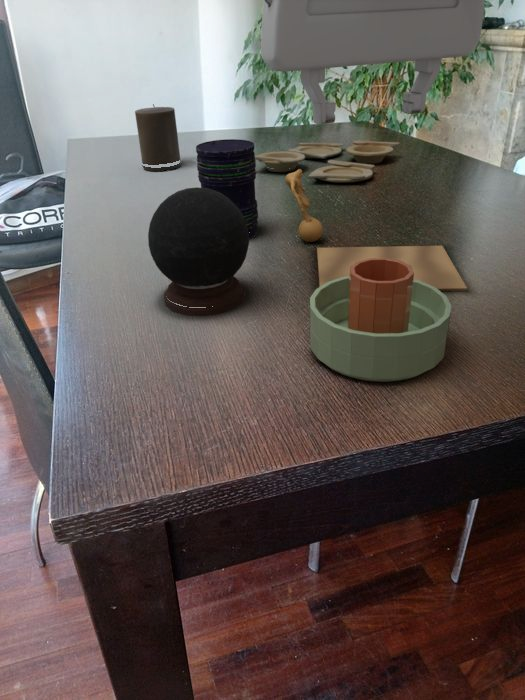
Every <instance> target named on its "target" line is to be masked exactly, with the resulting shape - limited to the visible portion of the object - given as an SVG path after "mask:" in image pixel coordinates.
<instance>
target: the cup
mask: <svg viewBox="0 0 525 700" xmlns="http://www.w3.org/2000/svg"><path fill="white" fill-rule="evenodd" d="M413 278H414V271H413V269H412V267H411V266H410V265H408V264H406V263H404V262H402V261H399V260H394V259H388V258H369V259H365V260H361V261H357V262H356V263H354V264H353V265H352V266H351V267H350V275H349V298H348V322H347V328H349V329H352V330H356V331H362V332H369V333H376V334H381V333H404V332H408V325H409V316H410V307H411V297H412V288H413Z"/></svg>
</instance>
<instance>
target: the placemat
mask: <svg viewBox="0 0 525 700" xmlns="http://www.w3.org/2000/svg"><path fill="white" fill-rule="evenodd" d="M316 256H317V270H318V283H319V285H318V287H320V286H322V285H323V284H325V283H327V282H329V281H332V280H335V279H338V278H341V277H346V276H349V275H350V267H351V266H352V265H353V264H354V263H356V262H357V261H361V260H365V259H369V258H388V259H394V260H399V261H402V262H404V263H406V264H408V265H410V266H411V267H412V269H413V271H414V278H413V279H415V280H419V281H422V282H424V283H426V284H429V285H431V286H433V287H435V288H437V289H438V290H439V291H441V292H467V291H468V286H467V285H466V283H465V282H464V280H463V279H462V277H461V275H460V273H459V271H458V270H457V268H456V266H455V265H454V263H453V261H452V260H451V258H450V256H449V255H448V253H447V251H446V249H445V247H444V246H443V245H401V246H399V245H398V246H397V245H395V246H393V245H391V246H390V245H389V246H346V247H345V246H341V247H340V246H339V247H337V246H336V247H335V246H334V247H332V246H331V247H330V246H329V247H316Z"/></svg>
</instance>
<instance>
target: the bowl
mask: <svg viewBox="0 0 525 700" xmlns="http://www.w3.org/2000/svg"><path fill="white" fill-rule="evenodd" d="M348 298H349V276H346V277H341V278H338V279H335V280H332V281H329V282H327V283H325V284H323V285H322V286H318V288H316V289H314V292H313V293H312V294H311V296H310V297H309V348H310V350H311V352H312V353H313V354H314V356H315V357H316V359H317V360H319V361H320V362H322V363H323V364H324V365H326V366H327V367H328V368H329V369H331V370H332V371H334V372H336V373H338V374H341V375H342V376H345V377H349V378H353V379H356V380H361V381H367V382H376V383H377V382H378V383H379V382H380V383H381V382H382V383H385V382H386V383H387V382H398V381H404V380H409V379H412V378H416V377H418V376H421V375H423V374H424V373H425V372H428V371H430V370H432V369H434V368H435V367H437V365H439V363H440V362H441V361H442V360H443V359H444V357H445V353H446V349H447V343H448V342H447V340H448V335H449V329H450V328H449V327H450V322H451V316H452V304H451V302H450V300H449V297H448V296H447V295H446V294H445V293H443V291H439V290H438V289H437V288H435V287H433V286H431V285H429V284H426V283H424V282H422V281H419V280H415V279H413V288H412V297H411V307H410V316H409V325H408V332H404V333H381V334H376V333H369V332H362V331H356V330H352V329H349V328H347V322H348Z"/></svg>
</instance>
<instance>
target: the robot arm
mask: <svg viewBox="0 0 525 700" xmlns="http://www.w3.org/2000/svg"><path fill="white" fill-rule="evenodd" d="M485 2H486V0H263V5H262V6H263V7H262V16H261V17H262V18H261V34H260V55H261V59H262V61H263V62H264V64H265V65H266V66H267V68H269V70H272V71H275V72H283V73H285V72H297V71H300V83H301V85H302V86H303V89H304V91H305V92H306V94H307V96H308V98H309V100H310V102H312V121H313V124H315V125H319V126H321V125H327V124H334V123H335V121H336V114H335V112H336V109H337V108H336V105H337V104H336V102H335V101H330V100H327V98H326V96H325V94H324V92H323V90H322V87H321V85H320V84H324V83H325V82H326V69H332V68H333V69H334V68H344V67H357V66H366V65H367V66H368V65H379V64H380V65H381V64H390V63H391V64H392V63H404V62H413V61H414V69H413V70H414V71H415V72H418V74H417V76H416V78H415V80H414V81H413V84H412V87H411V88H410V91H405V92H402V104H401V111H402V113H403V114H408V115H415V114H423V113H425V110H426V102H427V95H428V93H429V92H430V90H431V89H432V86H433V85H434V83H435V81H436V79H437V78H438V76H439V74H440V73H441V65H442V64H441V63H442V59H449V58H450V59H451V58H460V57H461V58H462V57H470V55H471V54H472V53H473V52H474V50H475V49H476V48H477V46H478V44H479V42H480V39H481V34H482V31H483V30H482V28H483V24H484V23H483V21H484V13H485Z"/></svg>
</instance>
